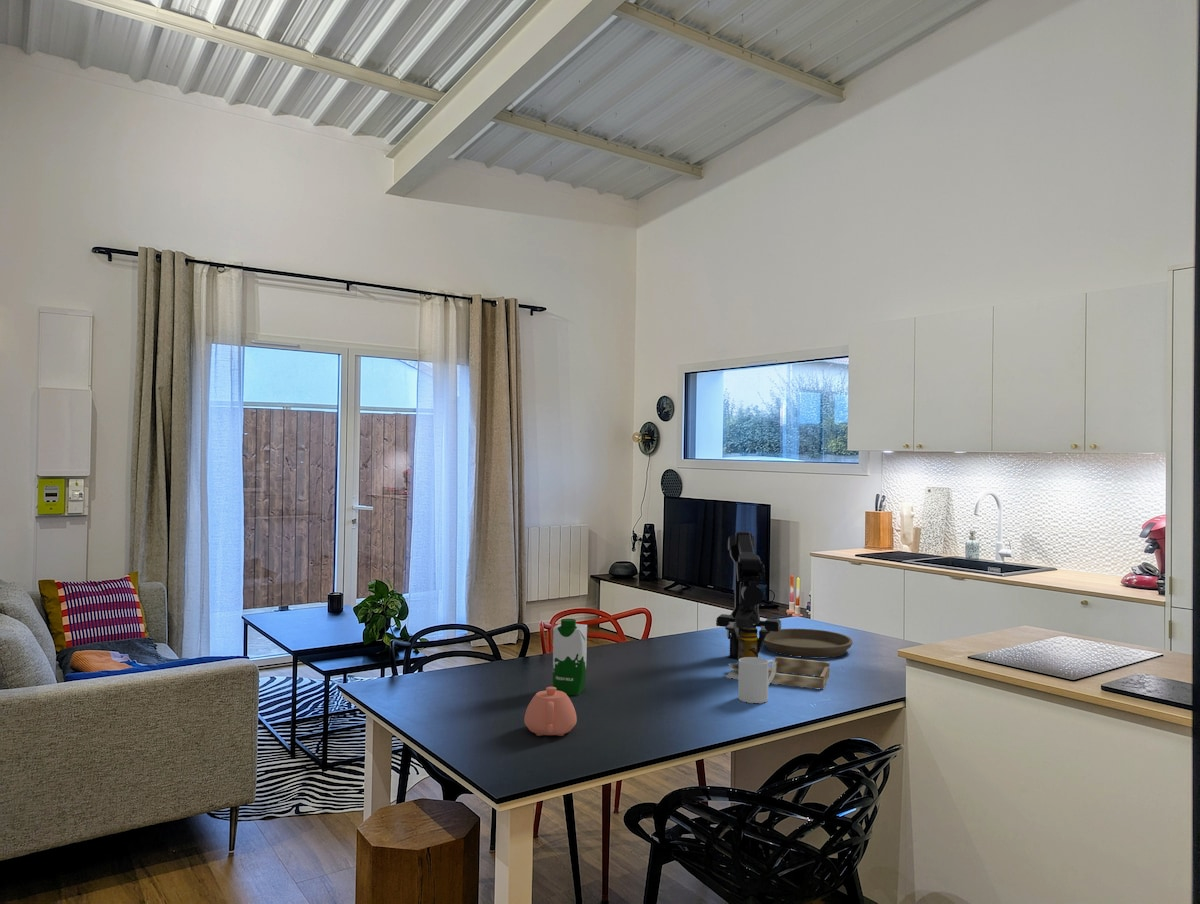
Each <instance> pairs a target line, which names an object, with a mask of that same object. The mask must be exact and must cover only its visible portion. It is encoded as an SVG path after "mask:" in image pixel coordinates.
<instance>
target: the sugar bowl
mask: <svg viewBox="0 0 1200 904" xmlns="http://www.w3.org/2000/svg"><path fill="white" fill-rule="evenodd" d="M577 718H578V717H577V712H576V709H575V706H574V704H573V702H572V700H571V698H570V697H569V695H567V694H566V693H565V692H562V691H557V690H556V687H553V686H547V687H545V690H540V691H537V692H536V693H535V695H533V697H532V699H531V700H530V702H529V704H528V705H527V708H526V710H525V713H524V721H523V722H524V724H525V726H526V727H527V729H528V730H529V731H530V732H531V733H533V734H535V736H539V737H541V736H557V737H562V736H565V734H567V733H569V732H571V731H572V729H573V728H574V727H575V726H576V724H577V720H578V719H577Z"/></svg>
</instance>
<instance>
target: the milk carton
mask: <svg viewBox="0 0 1200 904" xmlns="http://www.w3.org/2000/svg"><path fill="white" fill-rule="evenodd" d="M552 630H553V631H552V634H553V637H552V639H553V642H552V645H553V646H552V648H553V649H552V687H556V690H557V691H562V692H565V693H566V694H567V696H576V697H577V696H579V695H580V694H581V693H582V692H584V690H586V680H587V656H588V655H587V654H588V653H587V649H588V645H587V644H588V643H587V640H588V636H587V635H588V624H584V623H583V624H581V623H577V620H576V619H575V618H562V619H560V623H558V624H557V625H555V626H554V627H553V628H552Z"/></svg>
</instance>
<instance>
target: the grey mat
mask: <svg viewBox="0 0 1200 904" xmlns="http://www.w3.org/2000/svg"><path fill="white" fill-rule="evenodd" d="M738 676H739V670H734V669H733V668H732V670H730V672H728V673H727V675H725V678H726V679H731V678H733V680H738Z"/></svg>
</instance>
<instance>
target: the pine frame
mask: <svg viewBox="0 0 1200 904" xmlns="http://www.w3.org/2000/svg"><path fill="white" fill-rule="evenodd" d="M773 661H774V662H775V663H776V673H775V676H774V678H773V680H772V682H771V683H775V684H774V685H778V684H782V685H781V686H786V685H791V686H790V687H795V686H800V687H799V688H803V687H810V688H809V689H812V688H820V689H823V688H824V689H825V687H826V685H827V683H828V681H829V679H830V664H831V663H830V661H829V662H828V661H819V660H814V659H804V658H793V657H784V656H775V657H774V660H773ZM771 672H772V664H771V665H770V666H769V667H768V679H769V677H770V675H771ZM779 672H784V673H779ZM788 673H794V674H788ZM797 674H805V675H797ZM806 675H815V676H820V677H815V676H806ZM828 678H829V679H828ZM827 680H828V681H827ZM826 682H827V683H826ZM825 684H826V685H825ZM824 686H825V687H824ZM820 689H819V690H820ZM824 689H823V690H824Z"/></svg>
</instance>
